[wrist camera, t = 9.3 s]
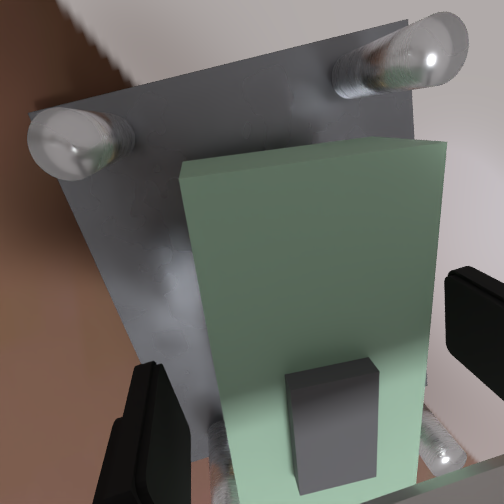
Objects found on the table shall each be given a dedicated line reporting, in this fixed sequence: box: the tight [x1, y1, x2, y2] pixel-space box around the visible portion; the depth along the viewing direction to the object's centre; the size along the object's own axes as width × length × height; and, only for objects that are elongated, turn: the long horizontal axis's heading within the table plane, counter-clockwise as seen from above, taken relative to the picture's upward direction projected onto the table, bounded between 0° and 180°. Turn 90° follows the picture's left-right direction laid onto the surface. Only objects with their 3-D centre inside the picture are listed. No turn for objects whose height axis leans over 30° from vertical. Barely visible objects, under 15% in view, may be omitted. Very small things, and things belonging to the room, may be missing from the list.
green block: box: [179, 136, 447, 504], centre depth 11 cm, size 12×6×4 cm, turn 6°
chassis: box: [27, 12, 469, 504], centre depth 14 cm, size 18×14×6 cm
